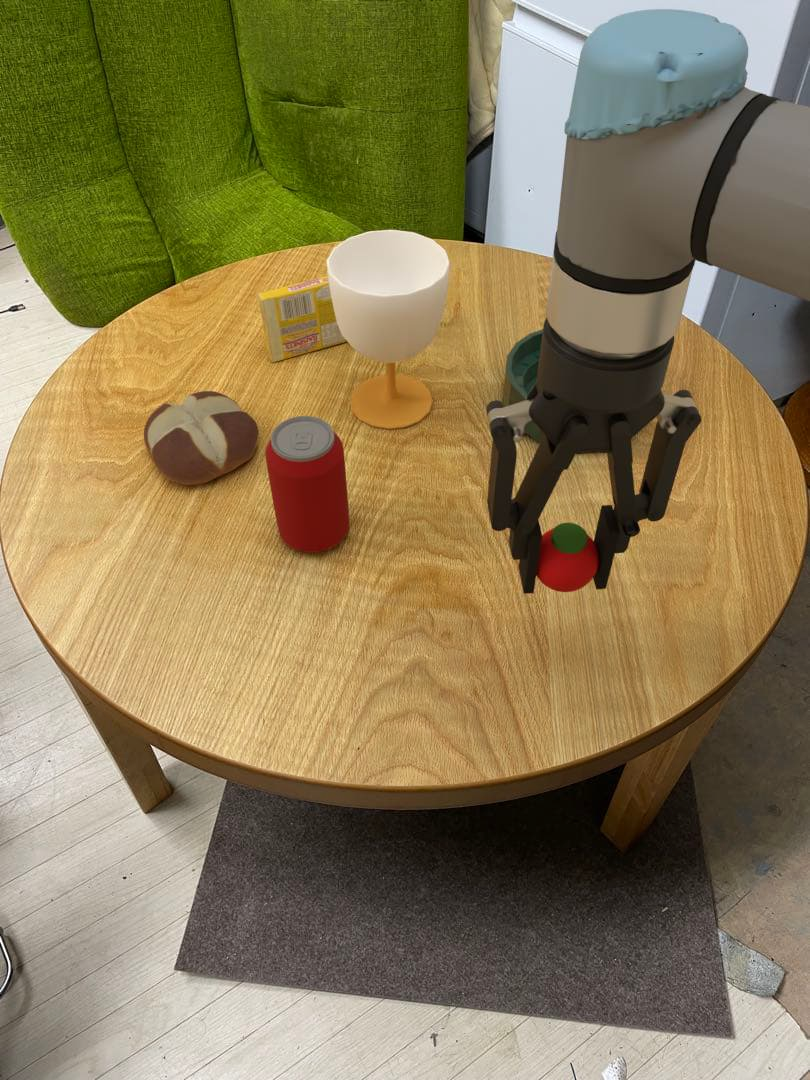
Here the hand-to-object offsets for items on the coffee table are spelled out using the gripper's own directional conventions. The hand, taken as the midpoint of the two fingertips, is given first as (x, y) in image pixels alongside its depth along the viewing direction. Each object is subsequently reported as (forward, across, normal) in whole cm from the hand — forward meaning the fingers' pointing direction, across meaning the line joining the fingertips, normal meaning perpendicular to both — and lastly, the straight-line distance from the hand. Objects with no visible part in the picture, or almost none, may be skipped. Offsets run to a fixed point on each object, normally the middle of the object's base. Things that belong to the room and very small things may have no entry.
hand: (561, 577), depth 67 cm
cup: (+8, +12, -32) cm, 35 cm away
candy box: (+8, +18, -44) cm, 48 cm away
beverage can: (+9, +20, -14) cm, 26 cm away
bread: (+8, +31, -26) cm, 42 cm away
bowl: (+8, -8, -30) cm, 32 cm away
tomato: (0, 0, 0) cm, 0 cm away
